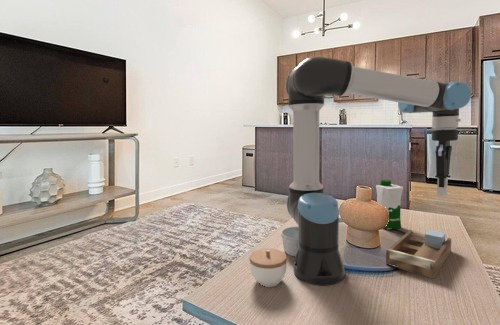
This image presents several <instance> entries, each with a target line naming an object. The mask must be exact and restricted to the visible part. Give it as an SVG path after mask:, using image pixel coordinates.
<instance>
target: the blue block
mask: <svg viewBox="0 0 500 325" xmlns="http://www.w3.org/2000/svg"><path fill="white" fill-rule="evenodd" d="M424 239H425V245H426V246H430V247H434V248H439V249H440V248H441V247H442V246H443V244H444V243H445V241H446V233H445V232H441V231H436V230H430V229H428V230H427V231H426V232H425V233H424Z"/></svg>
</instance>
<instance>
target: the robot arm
mask: <svg viewBox="0 0 500 325" xmlns="http://www.w3.org/2000/svg"><path fill="white" fill-rule="evenodd" d="M353 65H354V64H353V63H352V62H351V61H346V60H342V59H338V58H337V59H336V58H331V57H326V56H325V57H324V56H311V57H308V58H306V59H304V60H302V61H300V63H299V64H298V65H297V66H296V67H295V68H293V69H292V70H291V71H290V73H289V74H288V76H287V78H286V82H285V90H286V93H287V95H288V107H289V108H290V110H291V111H292V115H293V116H292V118H293V119H292V122H293V124H292V125H293V126H292V127H293V128H292V129H293V130H292V131H293V132H292V133H293V134H292V135H293V139H292V140H293V142H292V143H293V144H292V146H293V153H292V154H293V159H292V160H293V181H292V182H291V183H290V184H289V188H288V192H289V193H288V197H287V199H286V208H287V211H288V214H289V215H290V217H291V218H292V219H293V220H294V222H295V223H296V224H297V227H299V248H298V251H297V254H296V257H295V256H294V257H295V258H294V261H293V274H294V276H295V277H297V278H298V280H301V281H303V282H304V283H308V284H312V285H316V286H317V285H318V286H329V285H335V284H339V282H341V281H343V279H344V278H345V265H344V261H343V259H342V255H341V253H340V250H339V226H340V225H339V220H340V217H339V216H340V209H339V202H338V200H337V199H336V198H335V197H334V196H332V195H330V194H325V193H324V185H323V184H322V183H321V182H320V111H321V109H322V108H323V107H324V106H325V96H338V97H343V96H345V95H346V94H348V95H352V96H359V97H363V98H365V97H366V98H372V99H377V100H383V101H387V102H388V101H389V102H395V103H397V107H398V109H399V111H400V112H401V113H404V114H405V113H406V114H413V113H414V114H417V113H418V114H419V113H420V114H421V113H422V114H423V113H432V120H431V121H432V122H431V129H432V130H431V140H432V141H434V142H435V141H438V145H436V146H435V147H436V149H435V152H434V153H435V166H436V167H435V170H436V171H435V173H436V174H435V176H434V178H437V180H436V181H437V183H436V184H437V187H436V188H437V189H436V196H438V197H447V196H448V181H449V180H448V178H451V175H450V168H451V156H452V150H453V146H452V145H451V142H453V141H458V139H459V130H458V129H457V128H459V122H461V121H462V120H461V118H459V116H460V109H462V108H464V107H466V106H467V105H468V103H469V102H470V101H471V98H472V90H471V86H469V85H468V84H467V83H466V82H463V81H452V82H440V81H434V80H429V79H424V78H418V77H412V76H408V75H407V76H406V75H403V74H397V73H390V72H385V71H380V70H379V71H378V70H375V69H374V70H373V69H370V68H363V67H358V66H353Z"/></svg>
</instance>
